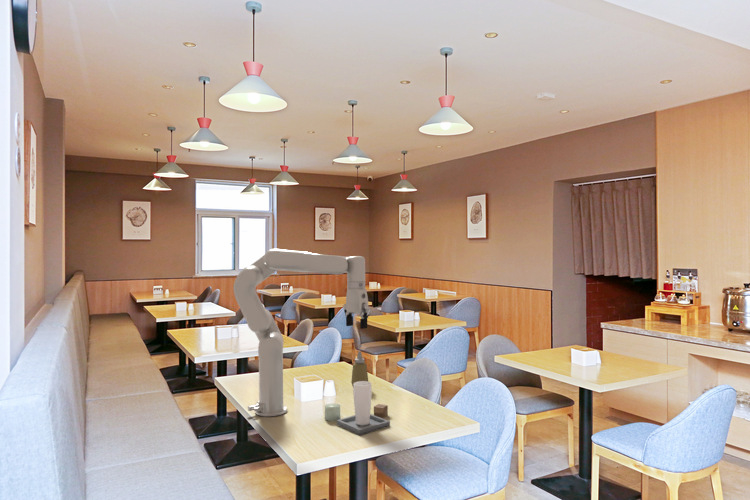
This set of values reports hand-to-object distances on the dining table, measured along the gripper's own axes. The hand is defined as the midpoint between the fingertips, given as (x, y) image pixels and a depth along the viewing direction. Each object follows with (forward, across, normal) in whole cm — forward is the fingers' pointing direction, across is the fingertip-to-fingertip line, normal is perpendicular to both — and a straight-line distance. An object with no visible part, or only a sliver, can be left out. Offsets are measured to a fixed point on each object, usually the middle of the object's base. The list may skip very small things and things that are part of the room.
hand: (356, 327), depth 208 cm
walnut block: (+33, -15, 0) cm, 37 cm away
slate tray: (+33, -19, +12) cm, 40 cm away
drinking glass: (+33, -19, +12) cm, 39 cm away
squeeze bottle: (+34, +20, -17) cm, 43 cm away
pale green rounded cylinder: (+33, -5, +16) cm, 37 cm away
